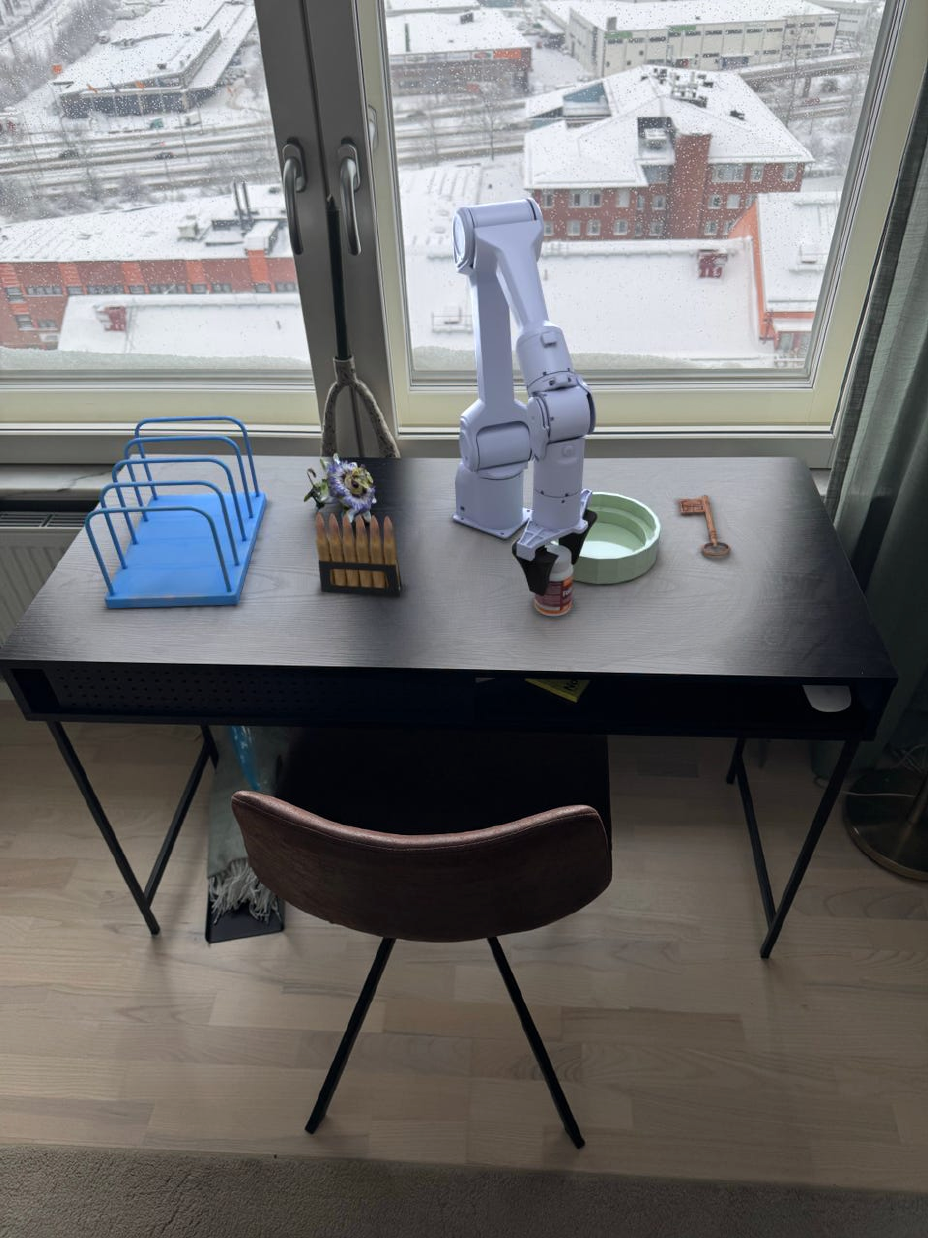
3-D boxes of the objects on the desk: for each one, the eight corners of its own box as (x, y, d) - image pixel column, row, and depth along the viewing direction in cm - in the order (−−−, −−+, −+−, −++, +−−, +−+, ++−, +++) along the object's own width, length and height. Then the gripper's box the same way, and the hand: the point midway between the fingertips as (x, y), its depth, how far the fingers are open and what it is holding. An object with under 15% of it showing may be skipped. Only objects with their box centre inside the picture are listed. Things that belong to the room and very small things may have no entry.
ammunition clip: (321, 592, 124) (309, 516, 117) (324, 583, 126) (312, 508, 118) (399, 596, 123) (393, 520, 116) (402, 587, 125) (395, 512, 117)
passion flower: (368, 550, 141) (366, 523, 129) (297, 537, 140) (289, 508, 129) (382, 482, 144) (382, 449, 132) (313, 469, 143) (306, 435, 132)
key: (678, 500, 140) (688, 559, 128) (678, 495, 139) (688, 553, 127) (718, 498, 139) (731, 557, 127) (718, 493, 138) (732, 552, 127)
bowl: (517, 560, 129) (517, 533, 126) (576, 506, 139) (577, 480, 136) (622, 600, 121) (625, 573, 118) (676, 540, 131) (680, 513, 128)
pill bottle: (569, 619, 119) (572, 566, 113) (532, 615, 120) (533, 562, 114) (573, 596, 122) (576, 544, 117) (537, 592, 123) (538, 540, 118)
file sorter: (154, 505, 142) (128, 414, 132) (267, 502, 142) (250, 411, 132) (106, 609, 123) (72, 511, 113) (238, 606, 123) (215, 508, 113)
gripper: (555, 524, 103) (550, 618, 112) (617, 466, 112) (608, 558, 121) (501, 505, 106) (501, 598, 115) (566, 450, 115) (561, 540, 124)
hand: (553, 576), depth 118 cm, fingers open, 7 cm apart
